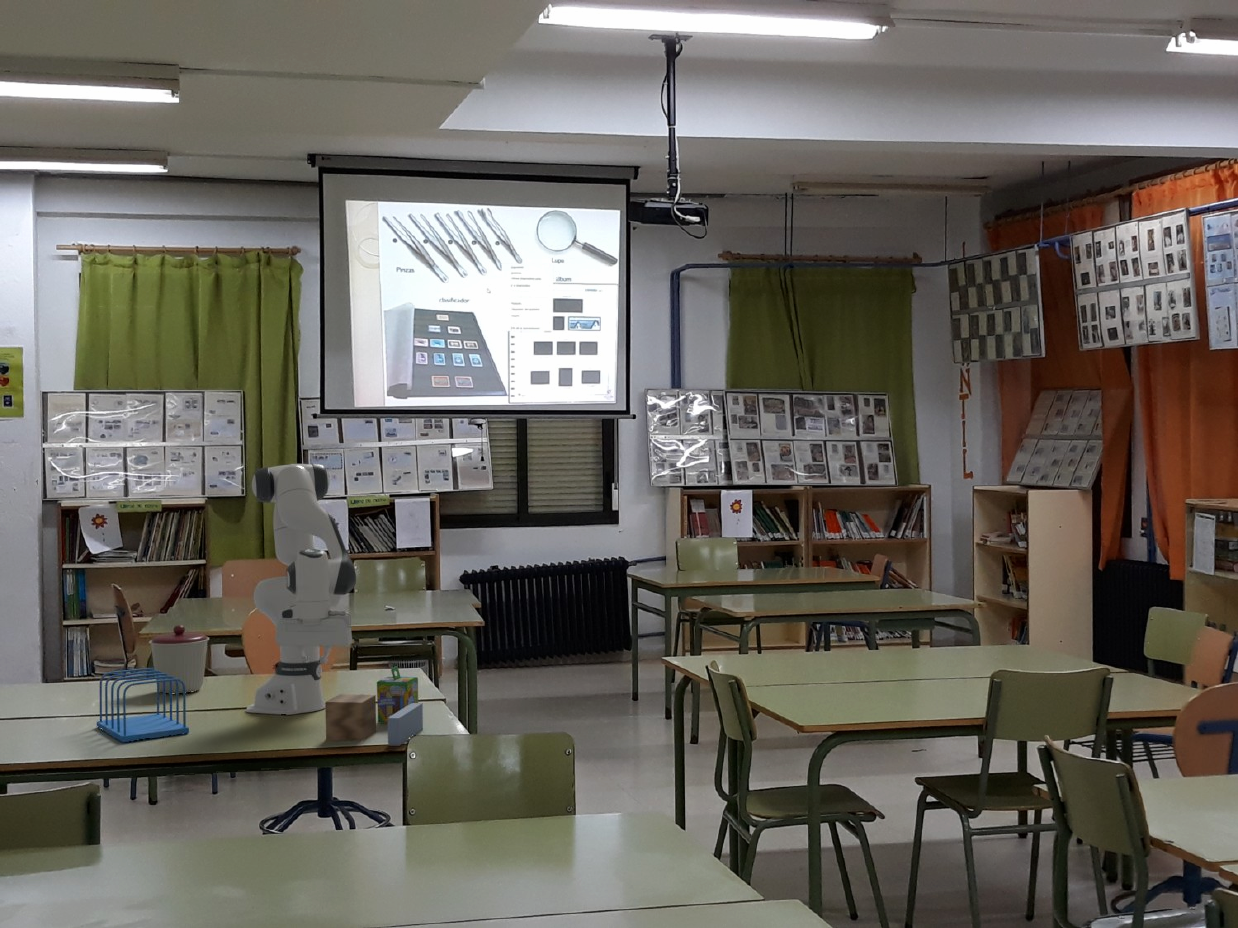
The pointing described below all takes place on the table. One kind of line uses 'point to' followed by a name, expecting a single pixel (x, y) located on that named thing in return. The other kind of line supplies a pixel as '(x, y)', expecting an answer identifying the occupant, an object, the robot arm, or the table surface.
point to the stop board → (405, 724)
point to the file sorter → (143, 724)
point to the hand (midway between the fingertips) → (314, 662)
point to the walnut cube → (350, 717)
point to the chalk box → (395, 694)
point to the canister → (180, 658)
